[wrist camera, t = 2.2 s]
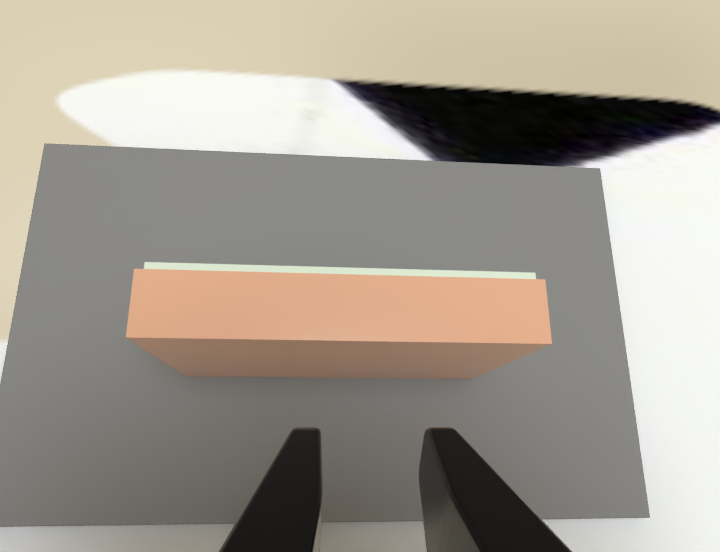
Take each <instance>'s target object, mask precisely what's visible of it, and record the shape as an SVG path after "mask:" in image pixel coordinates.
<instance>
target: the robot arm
mask: <svg viewBox="0 0 720 552" xmlns="http://www.w3.org/2000/svg"><path fill="white" fill-rule="evenodd" d="M419 487H420V495H421V504H422V513H423V521H424V530H425V538H426V547H427V552H572V551H571V550H570V549H569V548H568V547H567V546H566V545H565V544H564V543H563V542H562V541H561V540H560V538H559V537H558V536H557V535H556V534H555V533H554V532H553V531H552V530H551V529H550V528H549V527H548V526H547V525H546V524H545V523H544V522H543V521H542V520H541V519H540V518H539V516H538V515H537V514H536V513H535V512H534V511H533V510H532V509H531V508H530V507H529V506H528V505H527V504H526V503H525V502H524V501H523V500H522V499H521V498H520V497H519V496H518V494H517V493H516V492H515V491H514V490H513V489H512V488H511V487H510V486H509V485H508V484H507V483H506V482H505V481H504V480H503V479H502V478H501V477H500V476H499V475H498V473H497V472H496V471H495V470H494V469H493V468H492V467H491V466H490V465H489V464H488V463H487V462H486V461H485V460H484V459H483V458H482V457H481V456H480V455H479V454H478V453H477V451H476V450H475V449H474V448H473V447H472V446H471V445H470V444H469V443H468V442H467V441H466V440H465V439H464V438H463V437H462V436H461V435H460V434H459V433H458V432H457V431H456V430H455V429H453V428H451V427H429V428H428V429H426V431H425V433H424V438H423V445H422V451H421V458H420V464H419ZM322 491H323V478H322V443H321V430H320V429H319V428H318V427H295V428H293V429H292V430H291V431H290V433H289V435H288V436H287V438H286V440H285V441H284V443H283V445H282V446H281V448H280V450H279V451H278V453H277V455H276V457H275V458H274V460H273V462H272V463H271V465H270V467H269V468H268V470H267V472H266V473H265V475H264V477H263V479H262V480H261V482H260V484H259V485H258V487H257V489H256V490H255V492H254V494H253V495H252V497H251V499H250V500H249V502H248V504H247V506H246V507H245V509H244V511H243V512H242V514H241V516H240V517H239V519H238V521H237V522H236V524H235V526H234V527H233V529H232V531H231V533H230V534H229V536H228V538H227V539H226V541H225V543H224V544H223V546H222V548H221V549H220V551H219V552H320V535H321V514H322Z"/></svg>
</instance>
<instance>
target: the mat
mask: <svg viewBox="0 0 720 552" xmlns="http://www.w3.org/2000/svg"><path fill="white" fill-rule="evenodd" d="M145 262H164V263H201V264H238V265H274V266H311V267H348V268H384V269H421V270H458V271H494V272H531V273H535V274H536V279H545V281H546V291H547V300H548V310H549V319H550V329H551V339H552V344H551V345H549V346H546V347H544V348H542V349H540V350H537V351H535V352H533V353H531V354H528V355H526V356H524V357H521V358H519V359H517V360H515V361H512V362H510V363H508V364H506V365H503V366H501V367H499V368H496V369H494V370H492V371H490V372H487V373H485V374H483V375H481V376H478V377H476V378H474V379H409V378H302V377H196V376H184V375H182V374H181V373H179V372H178V371H176V370H175V369H173V368H172V367H170V366H168V365H167V364H165V363H164V362H162V361H161V360H159V359H158V358H156V357H155V356H153V355H152V354H150V353H149V352H147V351H146V350H144V349H143V348H141V347H139V346H138V345H136V344H135V343H133V342H132V341H130V340H129V339H127V338H126V331H127V323H128V314H129V306H130V298H131V290H132V282H133V273H134V269H144V263H145ZM295 427H318V428H319V429H320V430H321V443H322V478H323V491H322V514H321V522H373V521H423V513H422V504H421V495H420V487H419V464H420V458H421V451H422V445H423V438H424V433H425V431H426V429H428V428H429V427H451V428H453V429H455V430H456V431H457V432H458V433H459V434H460V435H461V436H462V437H463V438H464V439H465V440H466V441H467V442H468V443H469V444H470V445H471V446H472V447H473V448H474V449H475V450H476V451H477V453H478V454H479V455H480V456H481V457H482V458H483V459H484V460H485V461H486V462H487V463H488V464H489V465H490V466H491V467H492V468H493V469H494V470H495V471H496V472H497V473H498V475H499V476H500V477H501V478H502V479H503V480H504V481H505V482H506V483H507V484H508V485H509V486H510V487H511V488H512V489H513V490H514V491H515V492H516V493H517V494H518V496H519V497H520V498H521V499H522V500H523V501H524V502H525V503H526V504H527V505H528V506H529V507H530V508H531V509H532V510H533V511H534V512H535V513H536V514H537V515H538V516H539V518H540V519H590V518H650V515H649V508H648V501H647V494H646V487H645V480H644V473H643V466H642V459H641V452H640V445H639V438H638V431H637V424H636V417H635V410H634V403H633V396H632V389H631V382H630V375H629V368H628V361H627V354H626V347H625V340H624V333H623V326H622V319H621V312H620V305H619V298H618V291H617V284H616V277H615V271H614V264H613V257H612V250H611V243H610V236H609V229H608V222H607V215H606V208H605V201H604V194H603V187H602V180H601V173H600V169H599V168H576V167H554V166H532V165H510V164H488V163H466V162H443V161H421V160H399V159H377V158H355V157H332V156H310V155H288V154H266V153H244V152H222V151H199V150H177V149H155V148H133V147H111V146H88V145H66V144H44V150H43V155H42V161H41V166H40V171H39V177H38V182H37V188H36V193H35V199H34V204H33V210H32V215H31V221H30V226H29V231H28V237H27V242H26V248H25V253H24V258H23V264H22V269H21V275H20V280H19V285H18V291H17V296H16V302H15V308H14V313H13V318H12V324H11V329H10V334H9V340H8V345H7V351H6V356H5V362H4V367H3V373H2V378H1V383H0V527H12V526H85V525H157V524H229V523H236V522H237V521H238V519H239V517H240V516H241V514H242V512H243V511H244V509H245V507H246V506H247V504H248V502H249V500H250V499H251V497H252V495H253V494H254V492H255V490H256V489H257V487H258V485H259V484H260V482H261V480H262V479H263V477H264V475H265V473H266V472H267V470H268V468H269V467H270V465H271V463H272V462H273V460H274V458H275V457H276V455H277V453H278V451H279V450H280V448H281V446H282V445H283V443H284V441H285V440H286V438H287V436H288V435H289V433H290V431H291V430H292V429H293V428H295Z"/></svg>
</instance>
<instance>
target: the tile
mask: <svg viewBox="0 0 720 552" xmlns="http://www.w3.org/2000/svg"><path fill="white" fill-rule="evenodd" d="M126 338H127V339H129V340H130V341H132V342H133V343H135V344H136V345H138V346H139V347H141V348H143V349H144V350H146V351H147V352H149V353H150V354H152V355H153V356H155V357H156V358H158V359H159V360H161V361H162V362H164V363H165V364H167V365H168V366H170V367H172V368H173V369H175V370H176V371H178V372H179V373H181V374H182V375H184V376H196V377H302V378H409V379H474V378H476V377H478V376H481V375H483V374H485V373H487V372H490V371H492V370H494V369H496V368H499V367H501V366H503V365H506V364H508V363H510V362H512V361H515V360H517V359H519V358H521V357H524V356H526V355H528V354H531V353H533V352H535V351H537V350H540V349H542V348H544V347H546V346H549V345H551V344H552V339H551V329H550V319H549V310H548V300H547V291H546V281H545V279H536V274H535V273H531V272H494V271H458V270H421V269H384V268H348V267H311V266H274V265H238V264H201V263H164V262H145V263H144V269H134V273H133V282H132V290H131V298H130V306H129V314H128V323H127V331H126Z"/></svg>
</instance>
